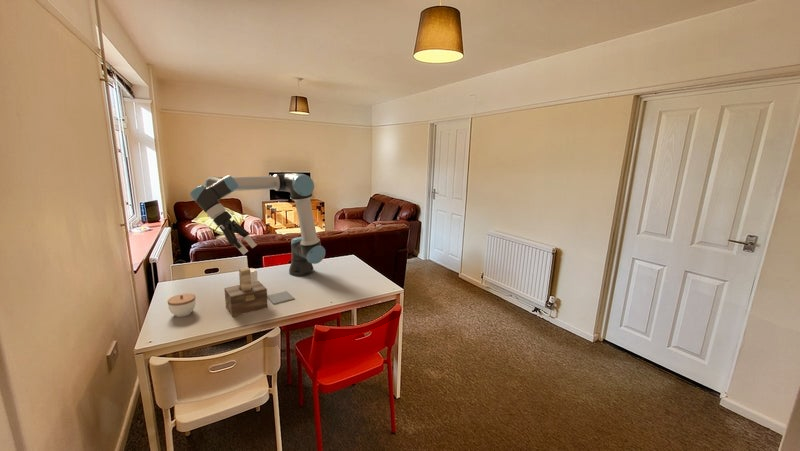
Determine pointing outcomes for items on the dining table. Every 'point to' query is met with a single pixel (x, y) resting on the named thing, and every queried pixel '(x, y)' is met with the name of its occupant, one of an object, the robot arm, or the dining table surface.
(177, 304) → the lidded jar
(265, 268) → the dining table surface
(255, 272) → the tan half-round slab
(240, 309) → the brown square frame
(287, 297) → the mat
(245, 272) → the wooden block
